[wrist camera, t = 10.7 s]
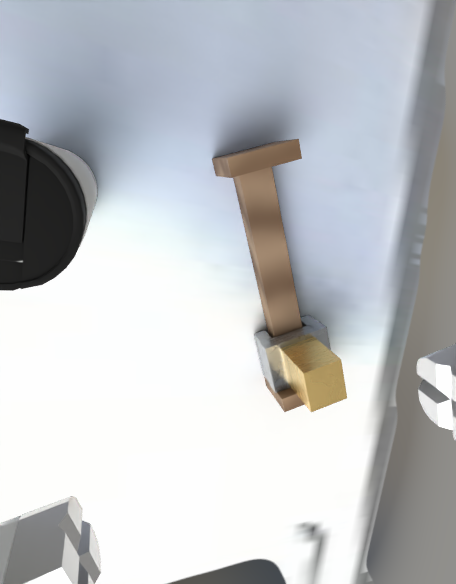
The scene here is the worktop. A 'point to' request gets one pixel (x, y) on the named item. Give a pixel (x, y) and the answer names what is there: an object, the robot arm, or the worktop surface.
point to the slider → (303, 364)
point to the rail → (267, 237)
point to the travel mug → (40, 207)
